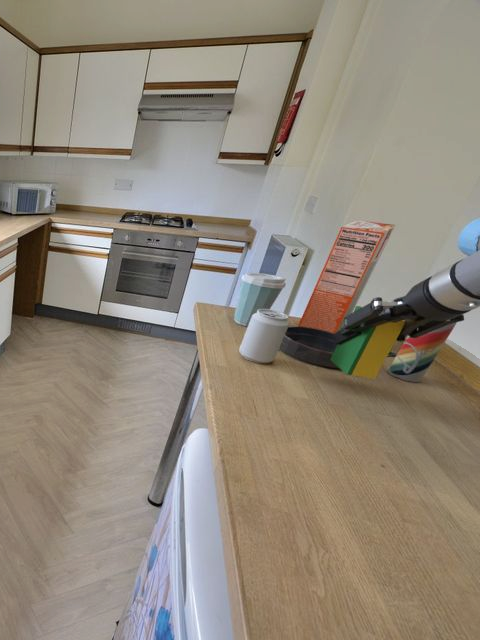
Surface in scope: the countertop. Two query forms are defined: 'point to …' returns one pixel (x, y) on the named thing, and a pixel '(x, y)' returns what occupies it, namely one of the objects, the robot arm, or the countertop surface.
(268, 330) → the can
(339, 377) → the countertop surface
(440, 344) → the striped water bottle
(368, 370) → the sponge
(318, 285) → the cereal box
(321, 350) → the bowl
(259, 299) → the disposable coffee cup
